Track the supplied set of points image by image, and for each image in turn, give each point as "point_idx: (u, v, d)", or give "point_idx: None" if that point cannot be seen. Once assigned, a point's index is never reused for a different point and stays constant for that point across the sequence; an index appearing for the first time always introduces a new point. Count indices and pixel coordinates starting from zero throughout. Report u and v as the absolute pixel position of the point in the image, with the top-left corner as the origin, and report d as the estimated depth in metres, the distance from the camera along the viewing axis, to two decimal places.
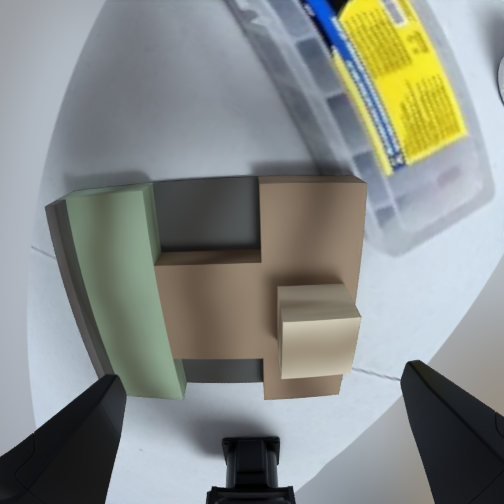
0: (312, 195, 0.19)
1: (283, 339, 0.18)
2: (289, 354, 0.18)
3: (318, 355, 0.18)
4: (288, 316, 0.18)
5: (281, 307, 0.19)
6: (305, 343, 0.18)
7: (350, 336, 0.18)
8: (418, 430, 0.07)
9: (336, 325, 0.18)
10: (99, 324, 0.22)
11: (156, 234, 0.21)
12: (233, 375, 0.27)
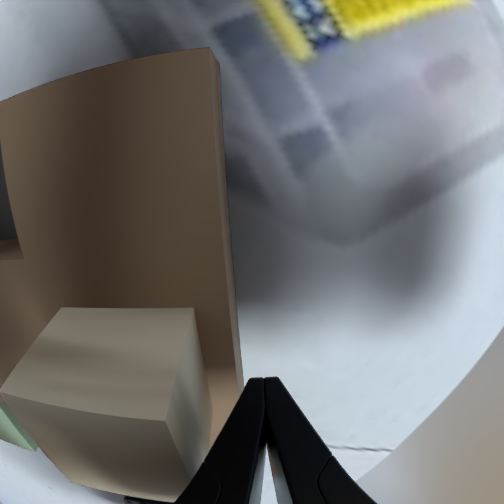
0: (79, 100, 0.07)
1: (22, 423, 0.06)
2: (51, 451, 0.06)
3: (106, 468, 0.06)
4: (15, 379, 0.06)
5: (27, 354, 0.07)
6: (64, 443, 0.06)
7: (158, 454, 0.06)
8: (269, 453, 0.07)
9: (103, 424, 0.05)
10: None
11: None
12: None
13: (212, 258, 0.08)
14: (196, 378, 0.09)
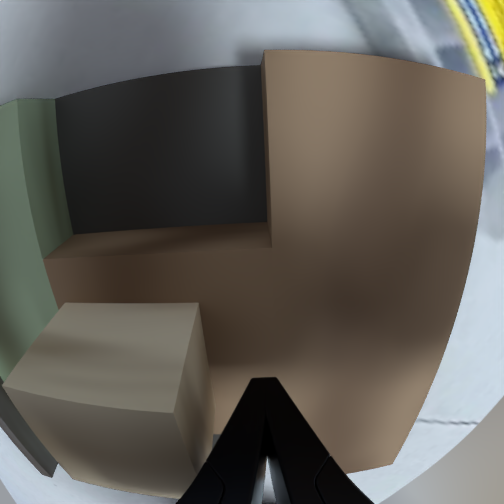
0: (388, 85, 0.07)
1: (25, 418, 0.06)
2: (54, 447, 0.06)
3: (110, 464, 0.06)
4: (19, 374, 0.06)
5: (30, 349, 0.07)
6: (68, 438, 0.06)
7: (164, 448, 0.06)
8: (267, 453, 0.07)
9: (110, 418, 0.06)
10: None
11: (56, 195, 0.09)
12: None
13: (466, 247, 0.08)
14: (201, 373, 0.09)
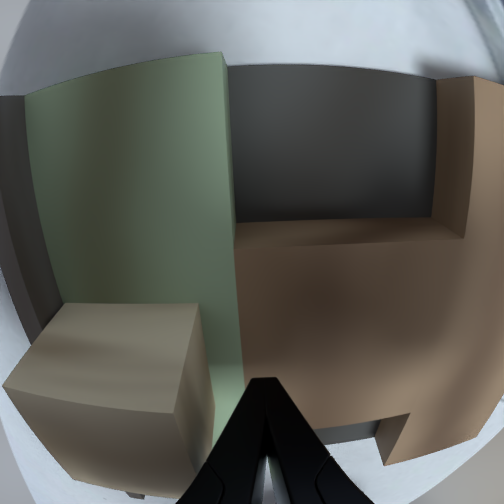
0: None
1: (25, 418, 0.06)
2: (53, 447, 0.06)
3: (110, 464, 0.06)
4: (19, 374, 0.06)
5: (30, 349, 0.07)
6: (68, 438, 0.06)
7: (164, 448, 0.06)
8: (267, 453, 0.07)
9: (110, 419, 0.06)
10: None
11: (232, 176, 0.09)
12: (333, 435, 0.15)
13: None
14: (200, 373, 0.09)
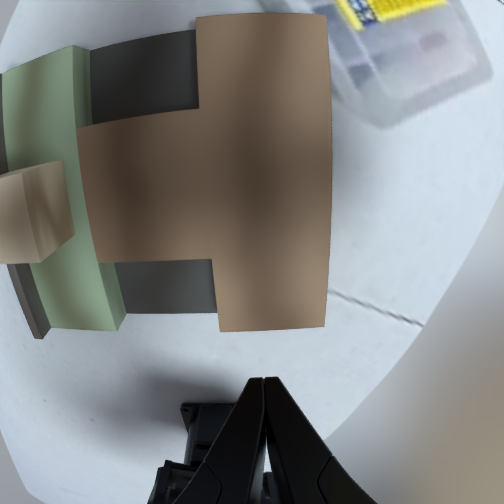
0: (258, 25, 0.13)
1: None
2: None
3: (1, 230, 0.13)
4: None
5: None
6: None
7: (19, 201, 0.12)
8: (269, 453, 0.07)
9: (2, 186, 0.12)
10: None
11: (86, 101, 0.15)
12: (182, 302, 0.21)
13: (325, 109, 0.15)
14: (56, 192, 0.15)
